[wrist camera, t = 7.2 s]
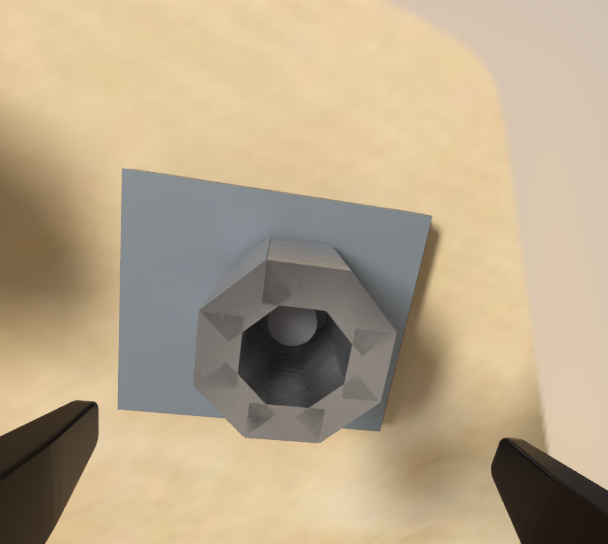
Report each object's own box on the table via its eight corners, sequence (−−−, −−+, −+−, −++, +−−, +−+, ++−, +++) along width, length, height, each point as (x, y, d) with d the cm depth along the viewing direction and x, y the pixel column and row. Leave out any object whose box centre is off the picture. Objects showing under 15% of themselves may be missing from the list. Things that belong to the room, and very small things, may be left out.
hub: (345, 372, 17) (370, 446, 12) (216, 359, 16) (189, 433, 12) (369, 248, 16) (409, 278, 11) (228, 228, 15) (203, 251, 10)
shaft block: (372, 413, 20) (396, 472, 16) (130, 391, 19) (87, 450, 15) (419, 213, 17) (463, 223, 13) (136, 169, 16) (85, 165, 12)
